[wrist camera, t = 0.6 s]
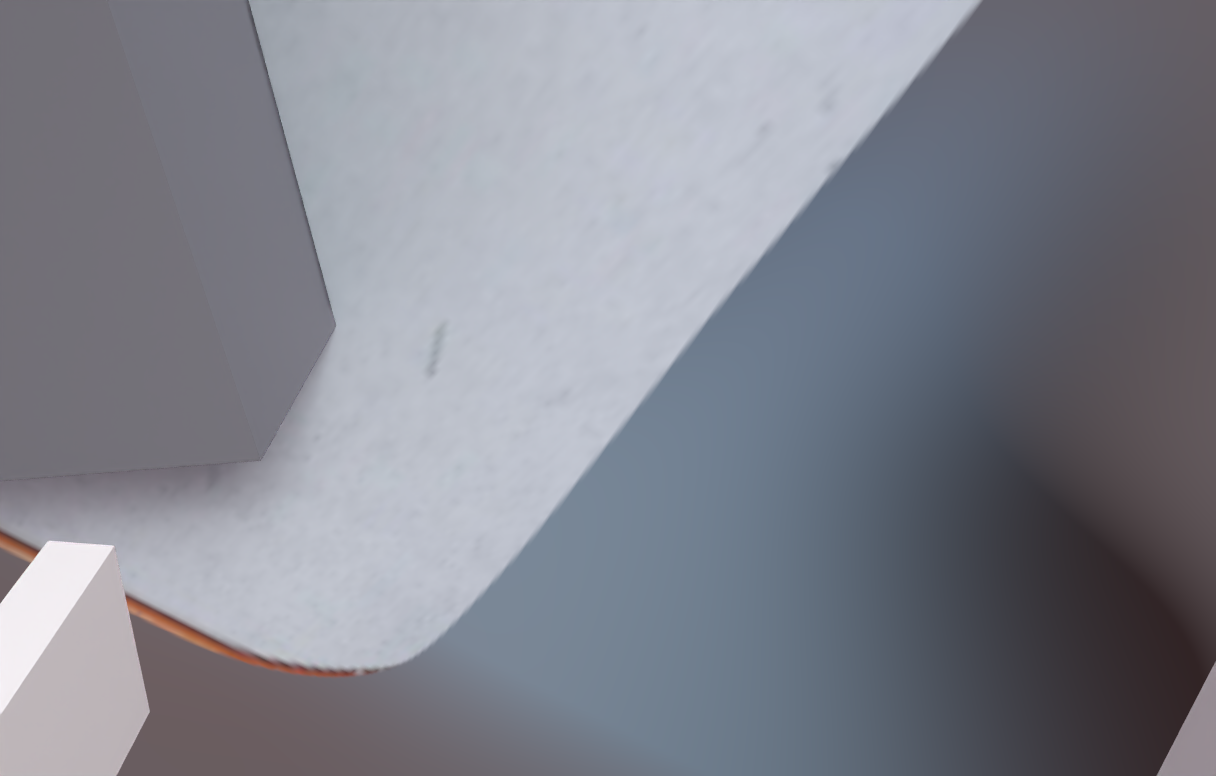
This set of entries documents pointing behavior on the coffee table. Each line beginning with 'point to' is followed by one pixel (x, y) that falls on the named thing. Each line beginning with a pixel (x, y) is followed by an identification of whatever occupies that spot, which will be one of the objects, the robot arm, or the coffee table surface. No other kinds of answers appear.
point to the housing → (146, 240)
